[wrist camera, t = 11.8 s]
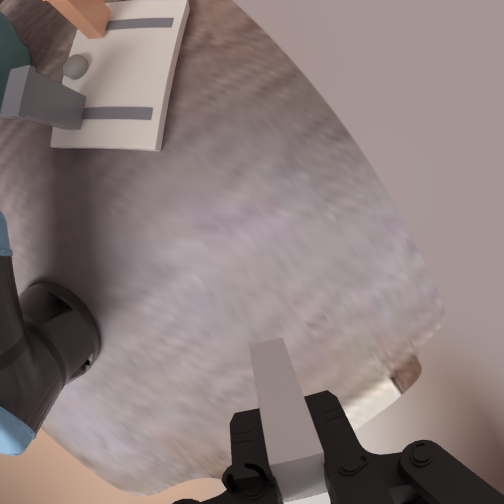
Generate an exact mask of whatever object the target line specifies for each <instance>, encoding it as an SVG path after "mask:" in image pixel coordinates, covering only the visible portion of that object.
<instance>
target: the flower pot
mask: <svg viewBox="0 0 504 504" xmlns="http://www.w3.org/2000/svg"><path fill="white" fill-rule="evenodd" d="M30 63H31V57H30V52H29V50H28V48H27V47H26V46H25V45H24V44H22V42H21V41H20V39H19V37H18V35H17V33H16V31H15V29H14V27H13V26H12V24H11V22H10V21H9V20H8V19H7V17H6V16H5V15H4V14H3V13H2V12H0V113H1V108H2V103H3V99H4V94H5V90H6V86H7V82H8V78H9V74H10V71H11V69H14V68H18V67H23V66H27V65H30Z"/></svg>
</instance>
